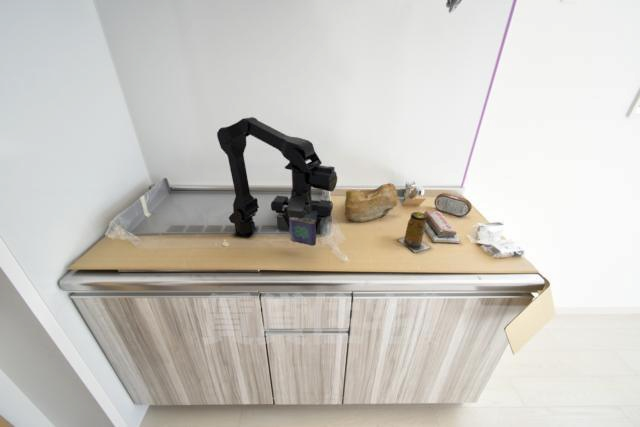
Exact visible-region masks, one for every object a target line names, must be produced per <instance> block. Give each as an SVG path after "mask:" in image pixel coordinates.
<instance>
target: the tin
mask: <svg viewBox="0 0 640 427" xmlns="http://www.w3.org/2000/svg"><path fill="white" fill-rule="evenodd" d="M434 206H435V208H436V209H437V211H439V212H443V213H446V214H449V215H453V216H455V217H461V218H462V217H465V216H467V215H469V213H470V212H471V210H472V208H473V206H472V204H471V202H470V200H468V199H467V198H464V197H460V196H457V195H454V194H451V193H447V192H442V193H439V194H438V195H437V196H436V197H435V198H434Z"/></svg>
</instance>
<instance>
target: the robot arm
mask: <svg viewBox="0 0 640 427" xmlns="http://www.w3.org/2000/svg"><path fill="white" fill-rule="evenodd" d="M249 136H252V137H254V138H256V139H258V140H260V141H261V142H262V143H265V144H266V145H269V146H271V147H272V148H275V149H276V150H278V151H279V152H280V153H281V154H282V157H283V158H284V159H286V160H287V161H289V162H288V163H287V164H286V165H285V166H284V169H285V170H290V171H291V191H290V192H291V193H290V197H288V196H287V195H286V196H285V195H276V196H275V197H274V199H273V200H271V203H270V211H274V212H275V213H276V214H278V213H279V214H281V215H282V216H283V218H284V220H285V222H286V224H287V226H288V227H290V225H289V218H290V217H295V218H300V219H301V218H304V216H305V215H307V214H311V211H312V209H313V210H317V213H318V214H317V216H316V217H317V220H316V231H317V229H318V226H319V223H320V221H321V220H322V218H327V217H331V215H332V212H333V209H334V202H332V200H326V199H319V201H320V203H319V204H316V203H311V200H313V198H312V188H313V189H317V190H322V191H326V192H331V193H332V192H334V190H335V189H336V187H337V184H338V176H337V175H338V174H337V172H336V170H335V168H336V167H335V166H331V165H328V166H327V165H323V164H322V160H321V159H320V157H319V156H318V154H317V152H316V150H315V147H314V144H313V143H312V142H311V141H310V140H308V139H304V138H301V137H297V136H290V135H287V134H285V133H283V132H281V131H279V130H277V129H276V128H273V127H271V126H269V125H268V124H265V123H263V122H262V121H260V120H258V119H257V118H256V117H254V116H251V117H245V118H241V119H240V120H239V121H237V122H235V123H233V124H231V125H228V126H224V127H220V128H219V129H218V131H217V132H216V137H217V140H218V144H219V147H220V149H221V150H222V151H223V152H224V153H225V155H226V156H227V159H228V165H229V169H230V174H231V180H232V185H233V188H234V194H235V198H234V199H233V200H234V201H233V204H232V209H233V210H232V211H233V212H232V213H231V214H230V215H229V216H228V220H229V222H230V223H231V224H233V225H234V229H235V232H234V233H233V236H234V237H240V238H248V239H250V238H251V237H252V236H253V234H255V232H256V230H257V228H256V224H255V221H254V217H255V216H256V214H257V212H258V211H259V208H260V206H259V204H258V202H259V201H258V198H257V197H254V196H253V195H252V194H251V191H250V185H249V180H248V179H249V178H248V173H247V172H248V171H247V167H246V162H245V161H246V160H245V156H244V153H245V150H246V147H247V137H249ZM289 198H290V201H288V199H289Z"/></svg>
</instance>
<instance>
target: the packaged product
mask: <svg viewBox="0 0 640 427" xmlns="http://www.w3.org/2000/svg"><path fill="white" fill-rule="evenodd" d="M423 214H425V215H426V216H427V219H426V228H425V231H426V233H427V234H428V236H429V238H430V239H431V240H432V242H433V243H454V244H455V243H456V244H460V243H461V240H460V239H459V237H458V236H457V231H456V230H455V229H454V227H453V226H452V225H451V224H450V222H448V220H447V219H446V217H445V216H444V215H443V214H442V212H441V211H439V210H425V211H424V212H423Z"/></svg>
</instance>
